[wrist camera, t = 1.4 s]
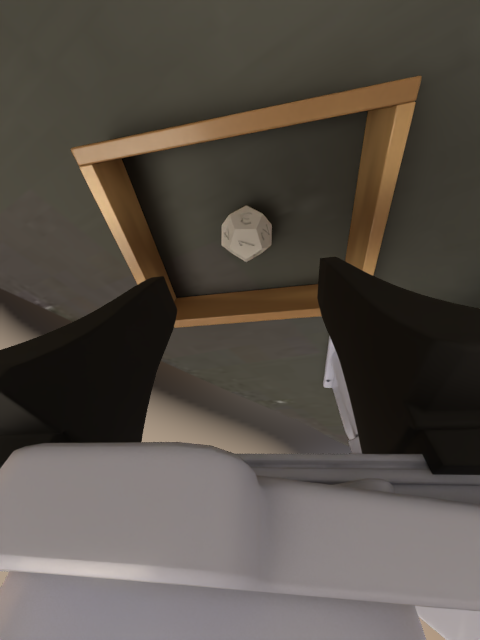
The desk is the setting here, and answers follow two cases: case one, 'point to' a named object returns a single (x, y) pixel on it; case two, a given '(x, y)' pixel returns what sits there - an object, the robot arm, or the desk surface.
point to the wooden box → (377, 152)
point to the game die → (246, 233)
